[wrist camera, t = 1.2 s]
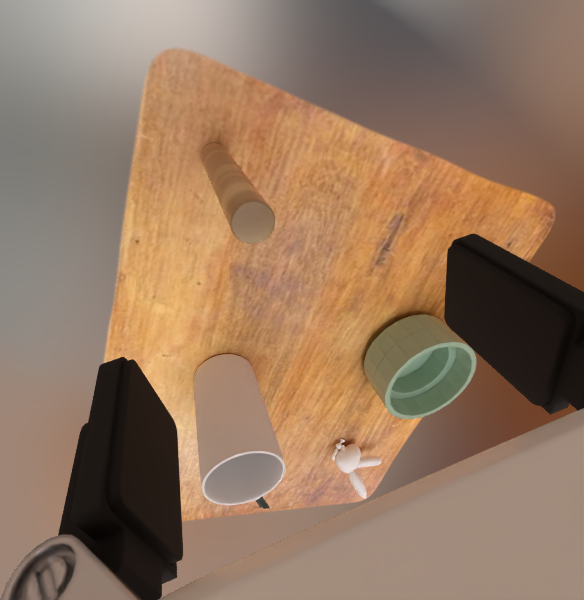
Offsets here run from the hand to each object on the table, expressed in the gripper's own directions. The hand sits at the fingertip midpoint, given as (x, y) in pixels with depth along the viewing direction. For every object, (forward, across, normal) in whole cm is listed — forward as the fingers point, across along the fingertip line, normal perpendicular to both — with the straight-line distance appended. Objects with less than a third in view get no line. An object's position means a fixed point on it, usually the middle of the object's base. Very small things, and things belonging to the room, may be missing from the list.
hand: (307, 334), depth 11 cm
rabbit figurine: (+22, -6, +43) cm, 49 cm away
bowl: (+21, -15, +27) cm, 37 cm away
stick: (+21, 0, -1) cm, 21 cm away
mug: (+22, +6, +22) cm, 31 cm away
